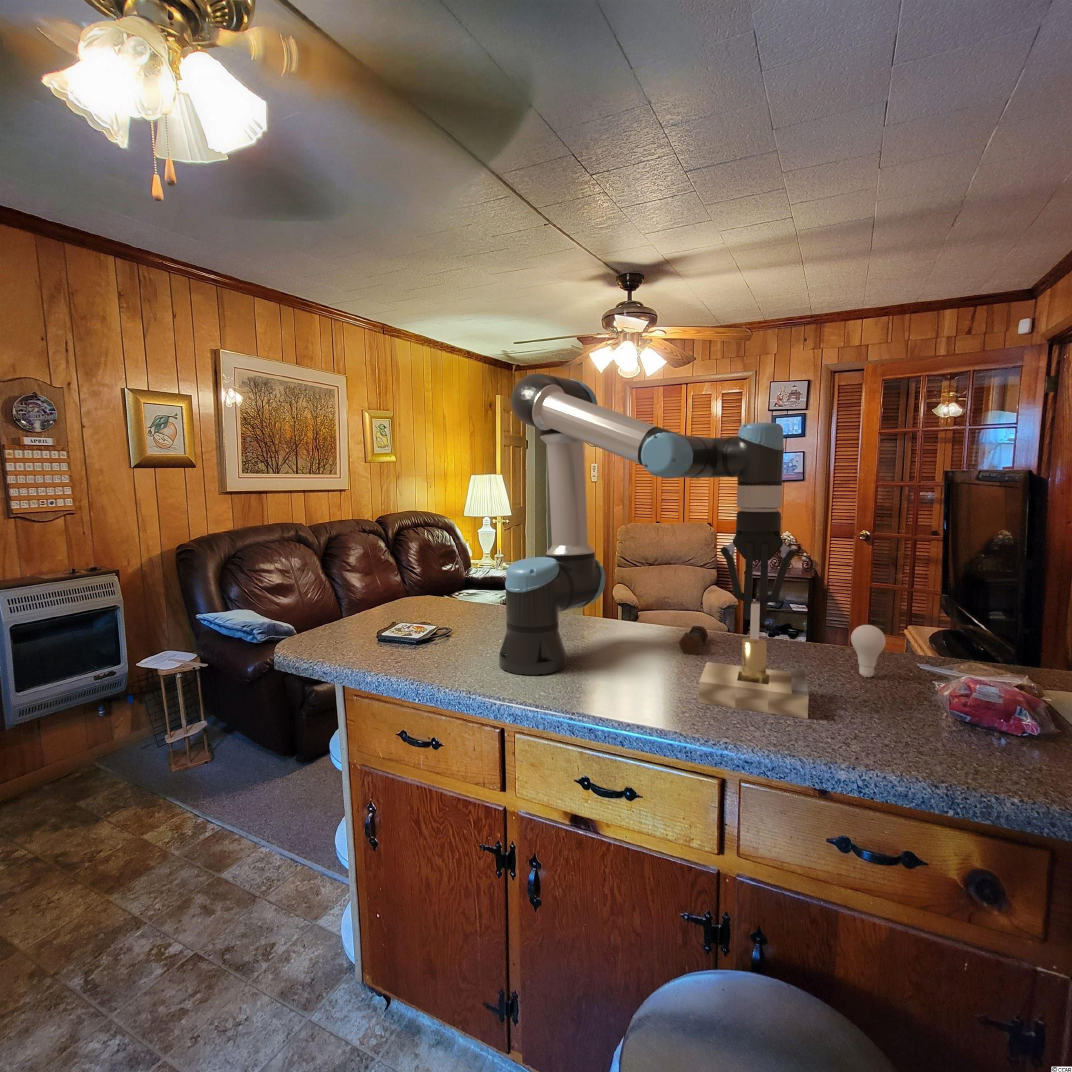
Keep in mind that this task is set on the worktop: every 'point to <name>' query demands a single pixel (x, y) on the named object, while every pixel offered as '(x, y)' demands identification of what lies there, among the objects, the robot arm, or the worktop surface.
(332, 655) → the worktop surface
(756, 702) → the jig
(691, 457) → the robot arm
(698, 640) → the bolt
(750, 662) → the brass cylinder
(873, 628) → the lightbulb
